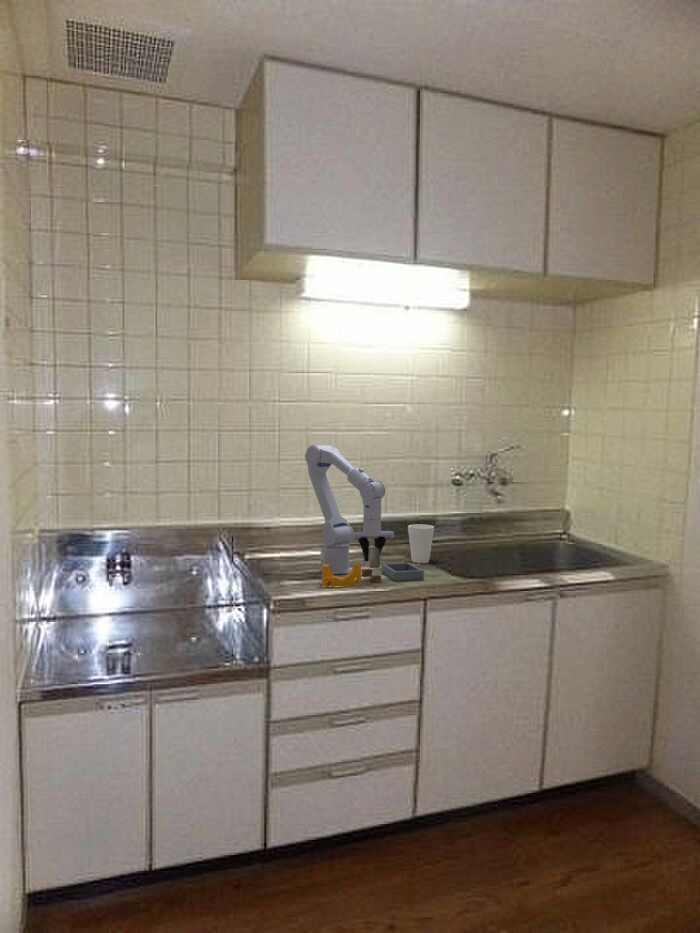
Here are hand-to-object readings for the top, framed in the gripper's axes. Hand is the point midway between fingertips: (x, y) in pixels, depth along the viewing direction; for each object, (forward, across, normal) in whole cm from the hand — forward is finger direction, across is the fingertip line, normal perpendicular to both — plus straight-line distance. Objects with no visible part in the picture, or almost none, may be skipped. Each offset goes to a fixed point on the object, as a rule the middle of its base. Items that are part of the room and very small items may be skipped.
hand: (371, 560), depth 214 cm
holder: (+6, 0, 0) cm, 6 cm away
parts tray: (+6, +11, +1) cm, 13 cm away
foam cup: (+6, +26, +22) cm, 35 cm away
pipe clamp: (+6, -12, -6) cm, 15 cm away
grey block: (+2, 0, 0) cm, 2 cm away
